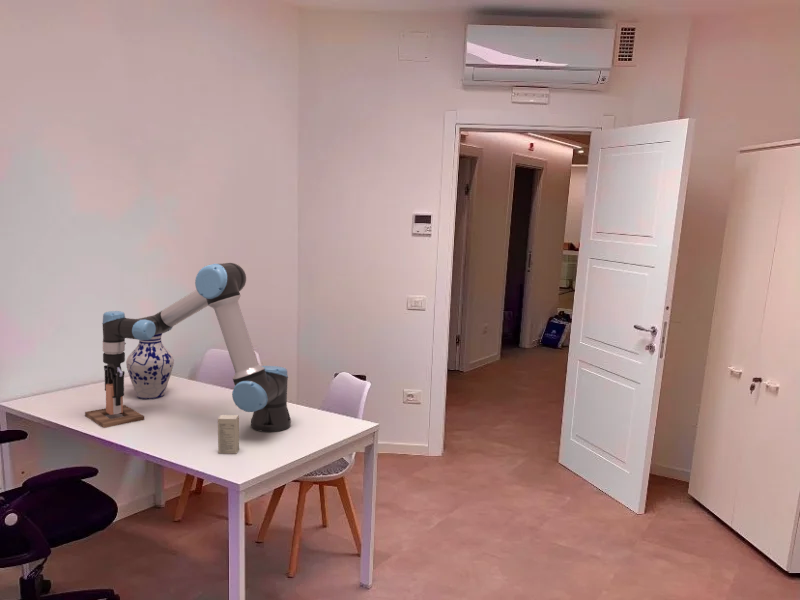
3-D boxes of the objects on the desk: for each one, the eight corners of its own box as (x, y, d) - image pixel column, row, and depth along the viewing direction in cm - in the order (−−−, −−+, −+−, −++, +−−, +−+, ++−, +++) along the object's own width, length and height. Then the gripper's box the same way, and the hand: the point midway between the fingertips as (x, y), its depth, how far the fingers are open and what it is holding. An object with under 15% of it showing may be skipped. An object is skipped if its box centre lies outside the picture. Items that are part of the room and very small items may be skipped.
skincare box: (239, 449, 206) (240, 414, 204) (236, 454, 201) (237, 418, 200) (220, 448, 205) (220, 414, 204) (217, 453, 201) (217, 418, 200)
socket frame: (144, 419, 230) (144, 416, 230) (103, 428, 220) (103, 424, 219) (124, 408, 243) (124, 404, 242) (85, 415, 232) (84, 411, 232)
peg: (122, 412, 231) (122, 384, 230) (110, 414, 228) (110, 386, 226) (118, 409, 234) (117, 382, 233) (106, 412, 231) (105, 384, 229)
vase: (174, 400, 256) (174, 331, 253) (125, 403, 249) (124, 332, 245) (173, 388, 274) (173, 323, 270) (127, 391, 267) (127, 324, 263)
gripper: (133, 355, 225) (133, 415, 228) (114, 346, 237) (115, 404, 239) (113, 357, 219) (113, 419, 222) (94, 349, 231) (95, 407, 234)
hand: (114, 411), depth 231 cm, fingers closed on peg, 4 cm apart
